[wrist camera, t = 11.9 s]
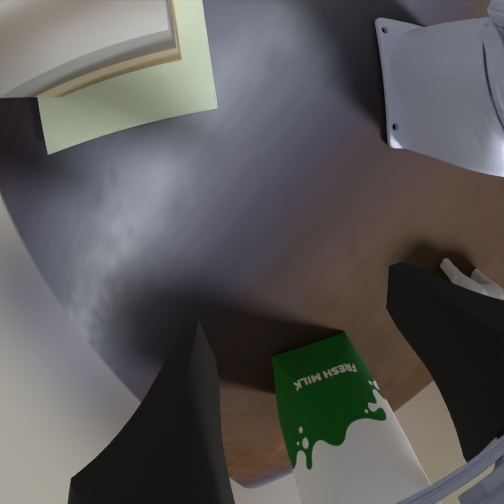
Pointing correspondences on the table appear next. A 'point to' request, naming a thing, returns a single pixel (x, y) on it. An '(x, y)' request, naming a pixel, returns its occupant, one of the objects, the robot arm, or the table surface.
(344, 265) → the table surface
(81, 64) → the cream layered block
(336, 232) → the table surface
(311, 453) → the milk carton
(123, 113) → the stand
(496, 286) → the dog figurine
